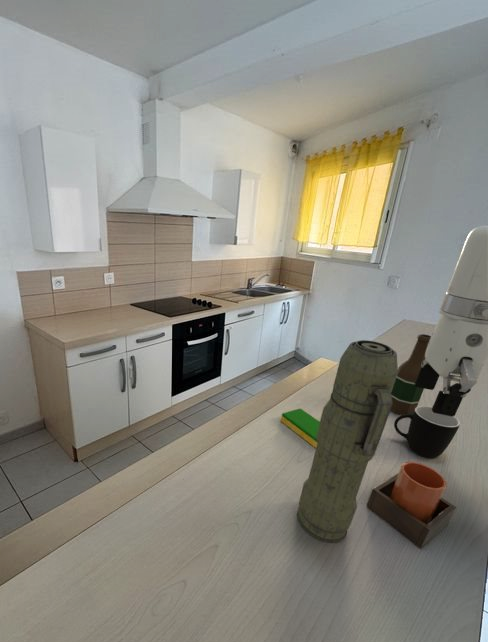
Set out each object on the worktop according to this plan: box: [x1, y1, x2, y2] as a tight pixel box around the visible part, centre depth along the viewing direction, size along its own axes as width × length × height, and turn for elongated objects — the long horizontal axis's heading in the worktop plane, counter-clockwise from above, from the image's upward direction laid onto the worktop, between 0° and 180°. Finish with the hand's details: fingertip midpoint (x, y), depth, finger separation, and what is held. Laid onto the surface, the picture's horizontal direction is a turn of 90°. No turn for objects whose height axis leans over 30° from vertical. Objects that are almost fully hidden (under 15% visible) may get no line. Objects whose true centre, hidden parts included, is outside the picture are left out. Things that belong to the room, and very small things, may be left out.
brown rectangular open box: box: [366, 472, 457, 549], centre depth 61 cm, size 10×10×4 cm
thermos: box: [296, 339, 399, 544], centre depth 53 cm, size 9×12×35 cm
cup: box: [389, 461, 447, 525], centre depth 60 cm, size 7×7×10 cm
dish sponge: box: [280, 408, 320, 449], centre depth 85 cm, size 7×14×2 cm, turn 28°
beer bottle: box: [390, 333, 432, 416], centre depth 94 cm, size 8×8×24 cm
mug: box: [393, 405, 461, 459], centre depth 80 cm, size 12×9×10 cm
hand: (432, 399), depth 58 cm, fingers open, 9 cm apart
